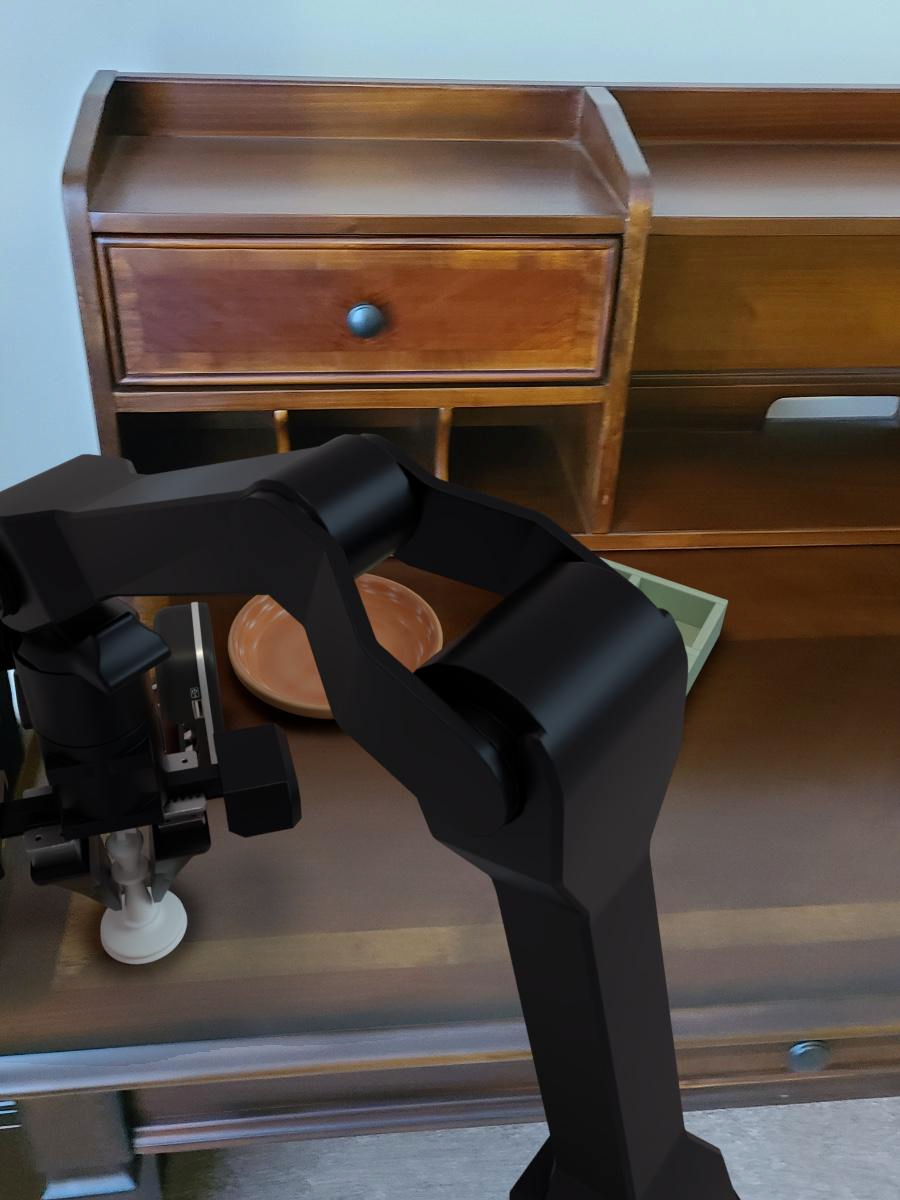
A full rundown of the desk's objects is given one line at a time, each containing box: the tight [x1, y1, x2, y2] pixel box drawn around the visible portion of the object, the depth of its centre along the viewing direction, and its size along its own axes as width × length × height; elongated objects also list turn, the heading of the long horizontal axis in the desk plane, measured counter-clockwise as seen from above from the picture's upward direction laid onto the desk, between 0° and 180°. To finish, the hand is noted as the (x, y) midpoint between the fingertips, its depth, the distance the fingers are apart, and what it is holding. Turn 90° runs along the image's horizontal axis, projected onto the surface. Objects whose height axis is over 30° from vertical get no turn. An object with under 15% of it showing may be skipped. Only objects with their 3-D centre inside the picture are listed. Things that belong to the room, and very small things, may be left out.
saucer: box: [227, 573, 444, 720], centre depth 81 cm, size 16×16×3 cm
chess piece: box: [100, 827, 188, 965], centre depth 60 cm, size 5×5×10 cm
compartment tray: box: [598, 556, 729, 697], centre depth 80 cm, size 22×15×4 cm
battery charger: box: [152, 601, 226, 766], centre depth 70 cm, size 7×4×11 cm, turn 14°
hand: (138, 899), depth 61 cm, fingers closed on chess piece
